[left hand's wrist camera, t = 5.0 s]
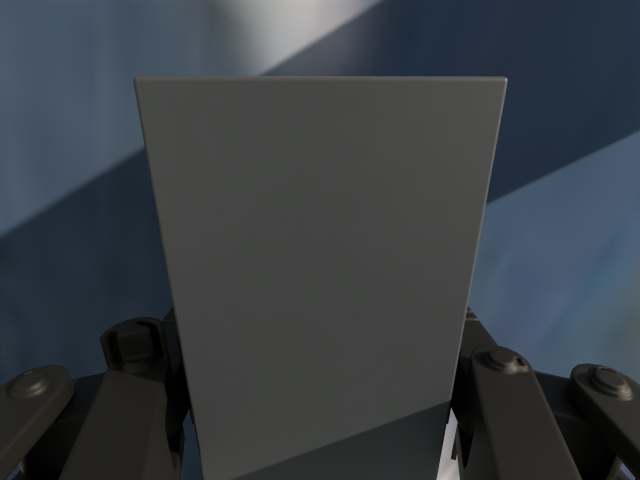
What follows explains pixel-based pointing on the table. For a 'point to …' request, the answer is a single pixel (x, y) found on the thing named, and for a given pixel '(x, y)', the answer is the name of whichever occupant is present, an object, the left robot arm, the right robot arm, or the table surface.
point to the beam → (320, 262)
